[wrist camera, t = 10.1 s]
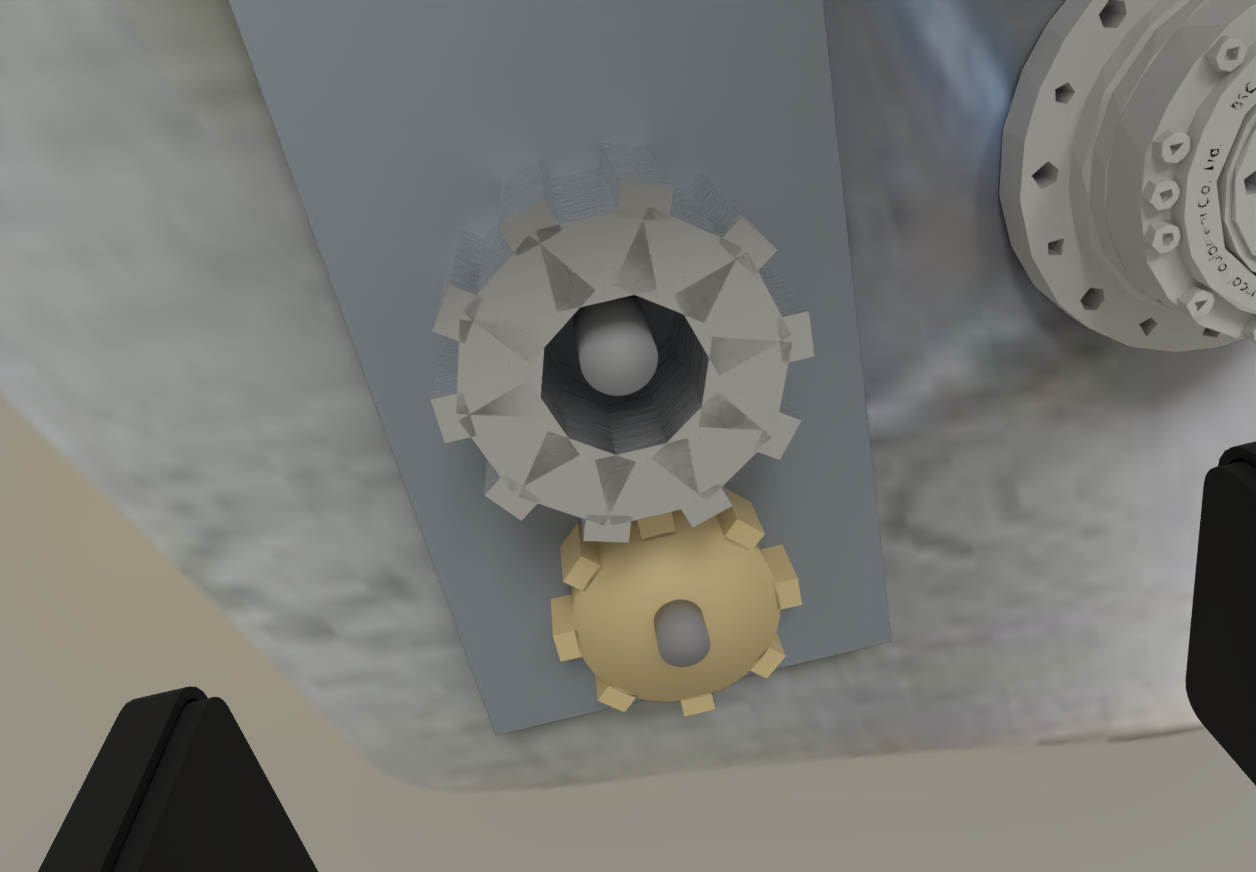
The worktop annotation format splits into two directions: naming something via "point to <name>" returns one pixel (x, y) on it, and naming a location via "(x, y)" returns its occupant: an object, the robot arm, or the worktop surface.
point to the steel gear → (687, 360)
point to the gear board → (591, 318)
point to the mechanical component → (1139, 169)
